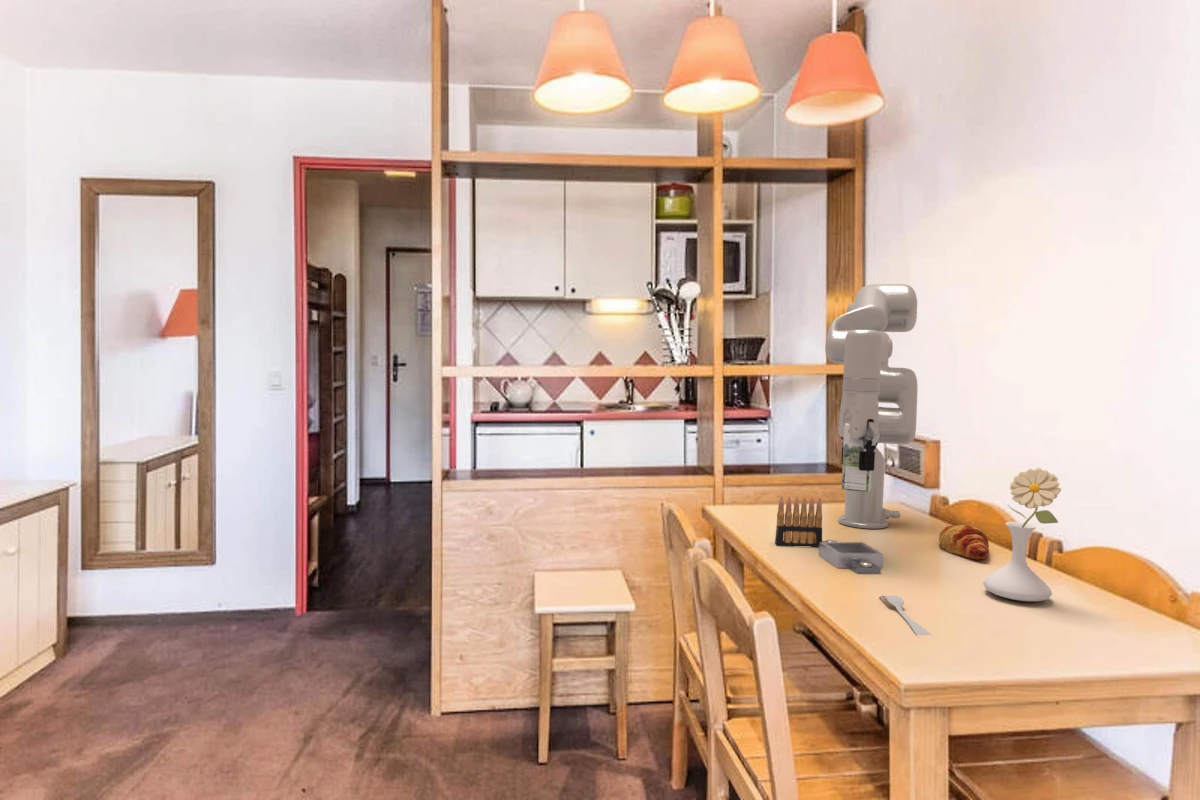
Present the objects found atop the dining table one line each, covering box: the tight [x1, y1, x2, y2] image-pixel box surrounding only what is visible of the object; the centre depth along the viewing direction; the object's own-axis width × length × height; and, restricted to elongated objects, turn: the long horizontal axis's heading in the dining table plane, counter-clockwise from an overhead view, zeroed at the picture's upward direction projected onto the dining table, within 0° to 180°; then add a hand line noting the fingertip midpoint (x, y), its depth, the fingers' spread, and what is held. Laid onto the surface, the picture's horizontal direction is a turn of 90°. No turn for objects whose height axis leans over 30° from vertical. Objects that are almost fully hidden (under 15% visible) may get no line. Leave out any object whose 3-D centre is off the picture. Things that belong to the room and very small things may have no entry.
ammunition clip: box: [774, 496, 823, 548], centre depth 175 cm, size 11×2×12 cm, turn 87°
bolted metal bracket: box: [816, 539, 884, 575], centre depth 165 cm, size 10×22×3 cm, turn 6°
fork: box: [879, 595, 932, 637], centre depth 129 cm, size 3×21×3 cm, turn 178°
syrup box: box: [841, 423, 871, 492], centre depth 162 cm, size 6×6×14 cm
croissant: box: [938, 524, 990, 560], centre depth 174 cm, size 21×10×8 cm, turn 177°
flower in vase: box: [982, 467, 1062, 602], centre depth 140 cm, size 13×11×25 cm
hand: (857, 467), depth 163 cm, fingers closed on syrup box, 7 cm apart
